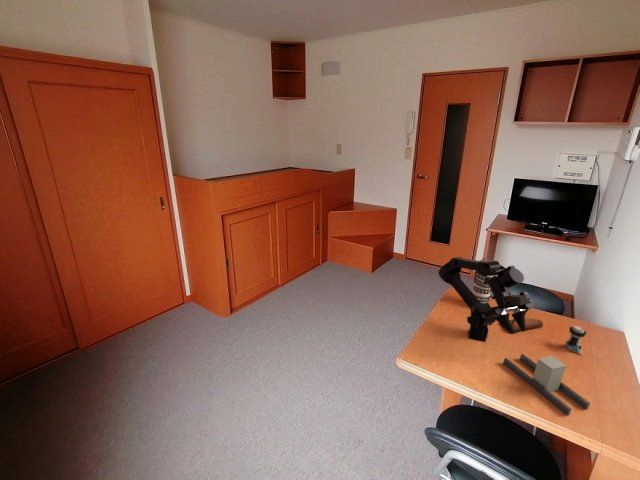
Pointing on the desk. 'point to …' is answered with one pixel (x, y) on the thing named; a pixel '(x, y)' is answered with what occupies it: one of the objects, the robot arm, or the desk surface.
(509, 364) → the steel chute
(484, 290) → the decorative candle
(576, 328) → the push button
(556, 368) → the block
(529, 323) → the sunglasses case
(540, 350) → the desk surface
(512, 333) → the robot arm
